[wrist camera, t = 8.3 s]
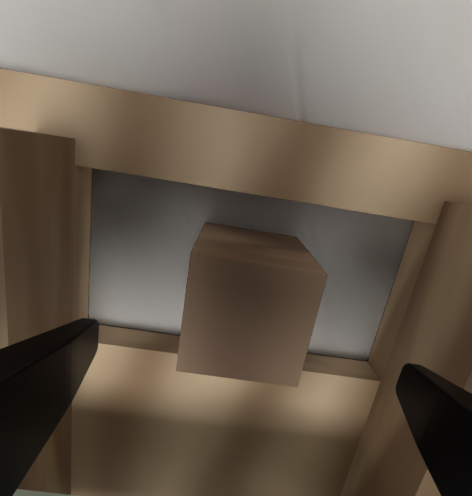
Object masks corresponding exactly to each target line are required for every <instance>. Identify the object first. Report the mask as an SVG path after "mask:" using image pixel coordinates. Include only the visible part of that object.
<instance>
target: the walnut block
mask: <svg viewBox="0 0 472 496" xmlns="http://www.w3.org/2000/svg"><path fill="white" fill-rule="evenodd" d="M327 275H328V274H327V273H326V272H325V271H324V270H323V268H322V267H321V266H320V265H319V263H318V262H317V261H316V260H315V259H314V257H313V256H312V255H311V254H310V253H309V251H308V250H307V249H306V248H305V246H304V245H303V244H302V243H301V242H300V240H299V239H298V238H297V237H293V236H287V235H281V234H275V233H268V232H262V231H256V230H250V229H243V228H237V227H231V226H225V225H218V224H212V223H206V222H205V225H204V227H203V229H202V231H201V233H200V235H199V237H198V239H197V241H196V243H195V246H194V248H193V250H192V252H191V255H190V263H189V271H188V279H187V287H186V294H185V302H184V310H183V318H182V326H181V333H180V341H179V349H178V357H177V365H176V371H179V372H186V373H193V374H201V375H208V376H216V377H223V378H231V379H238V380H246V381H253V382H260V383H268V384H275V385H283V386H290V387H298V384H299V380H300V376H301V373H302V369H303V365H304V361H305V358H306V354H307V350H308V346H309V343H310V339H311V335H312V331H313V328H314V324H315V320H316V316H317V312H318V309H319V305H320V301H321V297H322V294H323V290H324V286H325V282H326V279H327Z"/></svg>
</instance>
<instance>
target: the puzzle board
mask: <svg viewBox="0 0 472 496" xmlns="http://www.w3.org/2000/svg"><path fill="white" fill-rule="evenodd" d="M92 168H96V169H102V170H108V171H114V172H120V173H126V174H132V175H138V176H144V177H151V178H157V179H163V180H169V181H175V182H181V183H187V184H193V185H199V186H206V187H212V188H218V189H224V190H230V191H236V192H242V193H248V194H254V195H261V196H267V197H273V198H279V199H285V200H291V201H297V202H303V203H309V204H315V205H322V206H328V207H334V208H340V209H346V210H352V211H358V212H364V213H370V214H377V215H383V216H389V217H395V218H401V219H407V220H413V221H414V224H413V227H412V230H411V233H410V236H409V239H408V242H407V245H406V248H405V251H404V254H403V257H402V260H401V263H400V266H399V269H398V272H397V275H396V278H395V281H394V284H393V287H392V290H391V293H390V296H389V299H388V302H387V305H386V308H385V311H384V314H383V317H382V320H381V323H380V326H379V329H378V332H377V335H376V338H375V341H374V344H373V347H372V350H371V353H370V356H369V359H368V362H366V361H359V360H351V359H344V358H337V357H330V356H322V355H315V354H308V353H307V354H306V358H305V361H304V365H303V369H302V373H301V376H300V380H299V384H298V387H290V386H283V385H275V384H268V383H260V382H253V381H246V380H238V379H231V378H223V377H216V376H208V375H201V374H193V373H186V372H179V371H176V365H177V357H178V349H179V341H180V336H177V335H170V334H163V333H156V332H148V331H141V330H134V329H127V328H119V327H112V326H105V325H99V338H98V349H97V352H96V355H95V357H94V359H93V361H92V363H91V365H90V367H89V369H88V371H87V373H86V375H85V377H84V379H83V381H82V383H81V385H80V387H79V389H78V391H77V393H76V395H75V397H74V399H73V401H72V403H71V404H70V406H69V408H68V409H67V411H66V413H65V414H64V416H63V418H62V419H61V421H60V422H59V424H58V425H57V427H56V429H55V430H54V432H53V433H52V435H51V436H50V438H49V440H48V441H47V443H46V444H45V446H44V447H43V449H42V451H41V452H40V454H39V455H38V457H37V458H36V460H35V462H34V463H33V465H32V466H31V468H30V470H29V471H28V473H27V474H26V476H25V477H24V479H23V481H22V482H21V484H20V485H19V487H18V488H17V489H21V490H30V491H39V492H48V493H57V494H67V495H76V496H441V495H440V493H439V491H438V489H437V487H436V485H435V483H434V481H433V479H432V477H431V475H430V473H429V471H428V469H427V467H426V465H425V463H424V461H423V459H422V456H421V454H420V452H419V450H418V448H417V446H416V443H415V441H414V439H413V436H412V433H411V431H410V428H409V426H408V423H407V421H406V418H405V416H404V413H403V410H402V408H401V405H400V403H399V400H398V398H397V395H396V391H395V387H396V383H397V380H398V378H399V375H400V372H401V369H402V367H403V365H404V364H406V363H413V364H419V365H422V366H424V367H426V368H427V369H429V370H431V371H433V372H434V373H436V374H438V375H440V376H441V377H443V378H445V379H447V380H448V381H450V382H452V383H454V384H455V385H457V386H459V387H461V388H463V389H464V390H466V391H468V392H470V393H471V394H472V152H469V151H463V150H458V149H452V148H446V147H441V146H435V145H430V144H424V143H418V142H413V141H407V140H401V139H396V138H390V137H384V136H379V135H373V134H368V133H362V132H356V131H351V130H345V129H339V128H334V127H328V126H323V125H317V124H311V123H306V122H300V121H294V120H289V119H283V118H277V117H272V116H266V115H261V114H255V113H249V112H244V111H238V110H232V109H227V108H221V107H215V106H210V105H204V104H199V103H193V102H187V101H182V100H176V99H170V98H165V97H159V96H153V95H148V94H142V93H137V92H131V91H125V90H120V89H114V88H108V87H103V86H97V85H91V84H86V83H80V82H75V81H69V80H63V79H58V78H52V77H46V76H41V75H35V74H29V73H24V72H18V71H13V70H7V69H1V68H0V349H1V348H4V347H7V346H9V345H12V344H15V343H17V342H20V341H23V340H25V339H28V338H31V337H33V336H36V335H39V334H41V333H44V332H47V331H49V330H52V329H55V328H57V327H60V326H63V325H65V324H68V323H71V322H73V321H76V320H78V319H81V318H88V299H89V263H90V227H91V191H92Z"/></svg>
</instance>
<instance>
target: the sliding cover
mask: <svg viewBox="0 0 472 496" xmlns="http://www.w3.org/2000/svg"><path fill="white" fill-rule="evenodd" d="M13 496H76V495H67V494H57V493H48V492H39V491H30V490H21V489H17V490H16V492H15V493H14V495H13Z"/></svg>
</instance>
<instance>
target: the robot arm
mask: <svg viewBox="0 0 472 496" xmlns="http://www.w3.org/2000/svg"><path fill="white" fill-rule="evenodd" d="M98 338H99V322H98V321H97V320H96V319H89V318H81V319H78V320H76V321H73V322H71V323H68V324H65V325H63V326H60V327H57V328H55V329H52V330H49V331H47V332H44V333H41V334H39V335H36V336H33V337H31V338H28V339H25V340H23V341H20V342H17V343H15V344H12V345H9V346H7V347H4V348H1V349H0V496H13V495H14V493H15V492H16V490H17V488H18V487H19V485H20V484H21V482H22V481H23V479H24V477H25V476H26V474H27V473H28V471H29V470H30V468H31V466H32V465H33V463H34V462H35V460H36V458H37V457H38V455H39V454H40V452H41V451H42V449H43V447H44V446H45V444H46V443H47V441H48V440H49V438H50V436H51V435H52V433H53V432H54V430H55V429H56V427H57V425H58V424H59V422H60V421H61V419H62V418H63V416H64V414H65V413H66V411H67V409H68V408H69V406H70V404H71V403H72V401H73V399H74V397H75V395H76V393H77V391H78V389H79V387H80V385H81V383H82V381H83V379H84V377H85V375H86V373H87V371H88V369H89V367H90V365H91V363H92V361H93V359H94V357H95V355H96V352H97V349H98ZM395 391H396V395H397V398H398V400H399V403H400V405H401V408H402V410H403V413H404V416H405V418H406V421H407V423H408V426H409V428H410V431H411V433H412V436H413V439H414V441H415V443H416V446H417V448H418V450H419V452H420V454H421V456H422V459H423V461H424V463H425V465H426V467H427V469H428V471H429V473H430V475H431V477H432V479H433V481H434V483H435V485H436V487H437V489H438V491H439V493H440V495H441V496H472V394H471V393H470V392H468V391H466V390H464V389H463V388H461V387H459V386H457V385H455V384H454V383H452V382H450V381H448V380H447V379H445V378H443V377H441V376H440V375H438V374H436V373H434V372H433V371H431V370H429V369H427V368H426V367H424V366H422V365H419V364H413V363H406V364H404V365H403V367H402V369H401V372H400V375H399V378H398V380H397V383H396V387H395Z"/></svg>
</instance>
